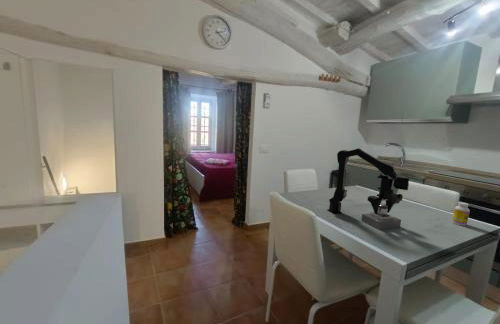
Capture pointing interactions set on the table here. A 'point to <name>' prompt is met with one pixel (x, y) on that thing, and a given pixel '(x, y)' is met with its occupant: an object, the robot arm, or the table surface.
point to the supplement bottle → (461, 214)
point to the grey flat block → (381, 221)
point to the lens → (382, 210)
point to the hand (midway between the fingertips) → (381, 213)
